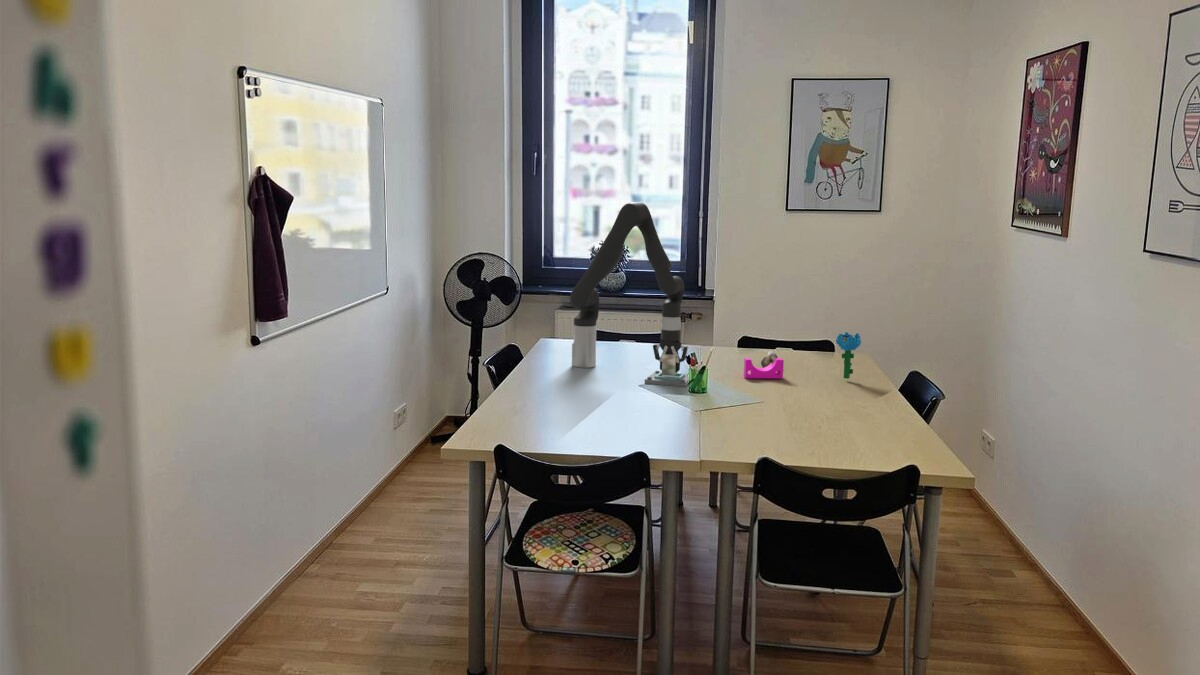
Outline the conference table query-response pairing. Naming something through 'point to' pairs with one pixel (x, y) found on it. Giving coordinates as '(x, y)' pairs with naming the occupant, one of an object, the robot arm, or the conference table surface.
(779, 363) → the toy block
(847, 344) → the toy flower
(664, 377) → the baseplate
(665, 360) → the beige block
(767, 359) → the eagle figurine
